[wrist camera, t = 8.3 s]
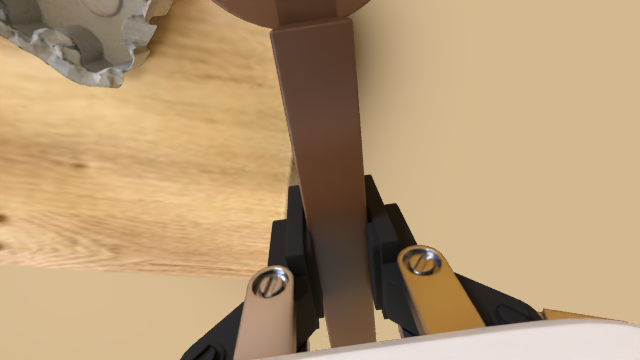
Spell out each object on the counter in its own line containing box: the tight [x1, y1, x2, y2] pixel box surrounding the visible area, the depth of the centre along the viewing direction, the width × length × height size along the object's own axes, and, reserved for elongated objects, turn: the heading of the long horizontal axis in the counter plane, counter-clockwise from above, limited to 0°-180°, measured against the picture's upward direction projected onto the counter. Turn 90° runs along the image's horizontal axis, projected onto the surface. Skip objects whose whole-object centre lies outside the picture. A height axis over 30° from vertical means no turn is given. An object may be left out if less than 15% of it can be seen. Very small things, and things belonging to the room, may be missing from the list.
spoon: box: [212, 0, 376, 348], centre depth 10 cm, size 20×6×3 cm, turn 8°
